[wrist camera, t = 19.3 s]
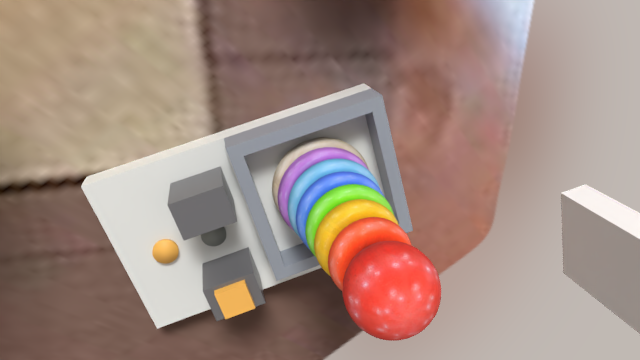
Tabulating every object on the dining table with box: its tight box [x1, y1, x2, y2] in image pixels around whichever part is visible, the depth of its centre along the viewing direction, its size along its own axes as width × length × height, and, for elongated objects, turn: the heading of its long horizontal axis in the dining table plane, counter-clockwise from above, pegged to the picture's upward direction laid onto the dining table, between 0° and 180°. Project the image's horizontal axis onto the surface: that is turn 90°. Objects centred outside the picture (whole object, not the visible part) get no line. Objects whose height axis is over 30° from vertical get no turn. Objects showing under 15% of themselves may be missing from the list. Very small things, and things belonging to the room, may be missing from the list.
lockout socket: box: [224, 88, 413, 281], centre depth 40 cm, size 12×12×2 cm
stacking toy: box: [272, 137, 441, 340], centre depth 32 cm, size 8×8×19 cm
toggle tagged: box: [202, 247, 266, 321], centre depth 40 cm, size 4×3×5 cm
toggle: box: [167, 166, 237, 240], centre depth 37 cm, size 4×3×4 cm
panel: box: [81, 83, 386, 329], centre depth 42 cm, size 23×14×2 cm, turn 106°
